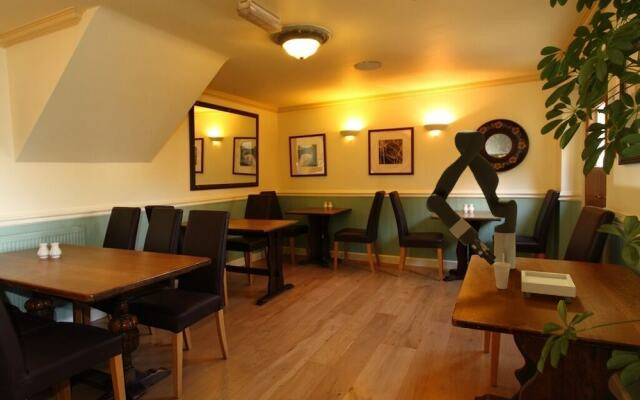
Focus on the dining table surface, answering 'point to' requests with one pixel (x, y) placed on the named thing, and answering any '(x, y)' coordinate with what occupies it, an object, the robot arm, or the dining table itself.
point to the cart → (548, 284)
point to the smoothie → (501, 273)
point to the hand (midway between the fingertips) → (493, 261)
